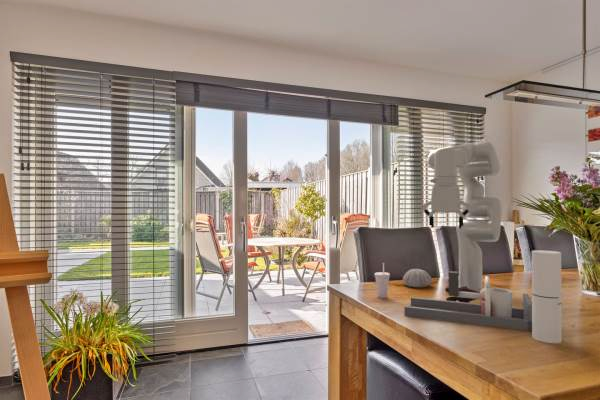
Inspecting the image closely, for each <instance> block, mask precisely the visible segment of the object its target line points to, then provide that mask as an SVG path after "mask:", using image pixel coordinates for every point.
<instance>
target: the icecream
mask: <svg viewBox="0 0 600 400" xmlns="http://www.w3.org/2000/svg"><path fill="white" fill-rule="evenodd" d="M444 290H445V292H446V293H448V294H449V286H447V287H445V289H444ZM459 291H462V292H473V293H480V292H478V291H475V290H472V289H468V288H467V286H466V287H465V286H463V287H460V288H459ZM445 300H446V301H455V302H465V303H471V302H472V301H473V302H474V301H476V300H477V299H473V298H463V297H454V296H448V297H447V298H446V299H445Z"/></svg>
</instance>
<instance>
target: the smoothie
mask: <svg viewBox="0 0 600 400" xmlns="http://www.w3.org/2000/svg"><path fill="white" fill-rule="evenodd" d="M390 277H391V274H390V272H385V262H382V271H381V272H380V271H379V272H375V273H374V279H375V284H376V293H377V297H378V298H380V299H381V298H382V299H387V297H388V290H389V289H388V288H389V283H390Z"/></svg>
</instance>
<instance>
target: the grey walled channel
mask: <svg viewBox="0 0 600 400" xmlns="http://www.w3.org/2000/svg"><path fill="white" fill-rule="evenodd" d="M484 288H485V315H483V314H482V303H473V302H469V303H465V302H459V301H446V299H443V300H442V299H437V298H436V299H435V298H423V297H414V296H411V297H410V305H405V306H404V316H406V317H412V318H413V317H415V318H422V319H429V320H438V321H446V322H456V323H462V324H463V323H464V324H469V325H478V326H480V325H481V326H485V327H486V326H488V327H495V328H503V329H512V330H520V331H527V332H532V298H531V297H530V295H529V294H528V293H523V294H522V307H521V308H520V307H514V306H512V312H511V318H509V317H500V316H491V298H490V289H491V284H490V277H489V275H485V277H484Z"/></svg>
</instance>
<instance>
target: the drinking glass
mask: <svg viewBox="0 0 600 400" xmlns="http://www.w3.org/2000/svg"><path fill="white" fill-rule="evenodd" d="M490 293H491V316H500V317H509V318H512V317H511V312H512V307H513V293H514V292H513V291H512V290H511V289H507V288H498V287H497V288H496V287H495V288H493V287H492V288H490Z"/></svg>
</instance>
